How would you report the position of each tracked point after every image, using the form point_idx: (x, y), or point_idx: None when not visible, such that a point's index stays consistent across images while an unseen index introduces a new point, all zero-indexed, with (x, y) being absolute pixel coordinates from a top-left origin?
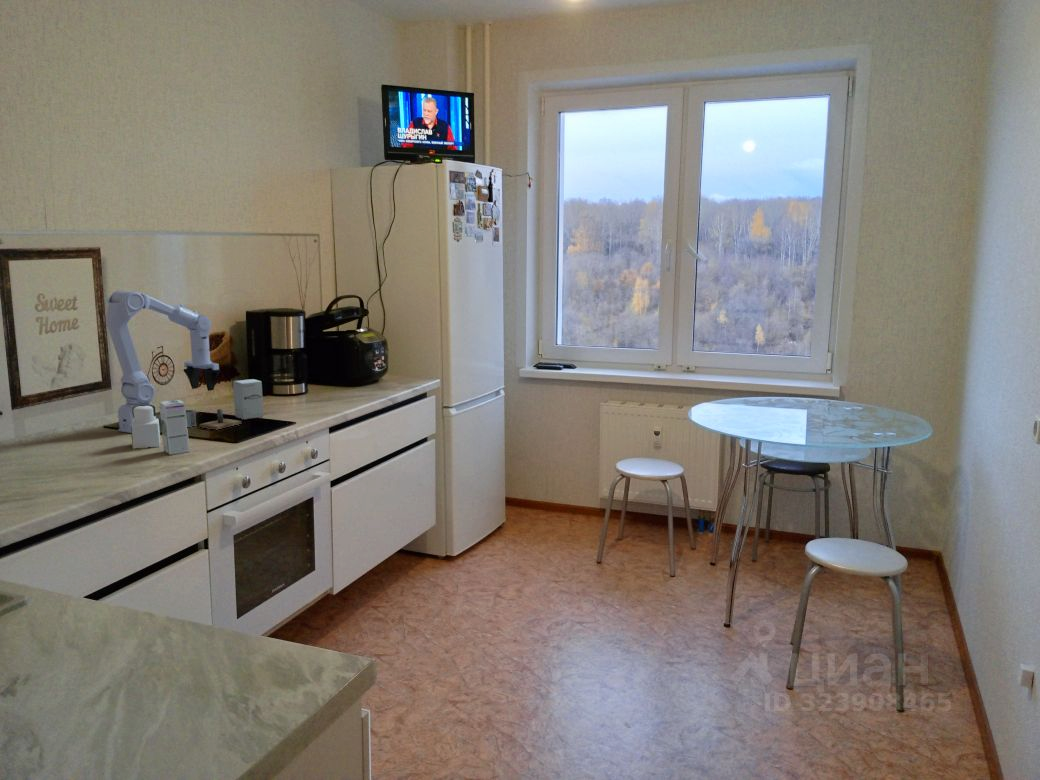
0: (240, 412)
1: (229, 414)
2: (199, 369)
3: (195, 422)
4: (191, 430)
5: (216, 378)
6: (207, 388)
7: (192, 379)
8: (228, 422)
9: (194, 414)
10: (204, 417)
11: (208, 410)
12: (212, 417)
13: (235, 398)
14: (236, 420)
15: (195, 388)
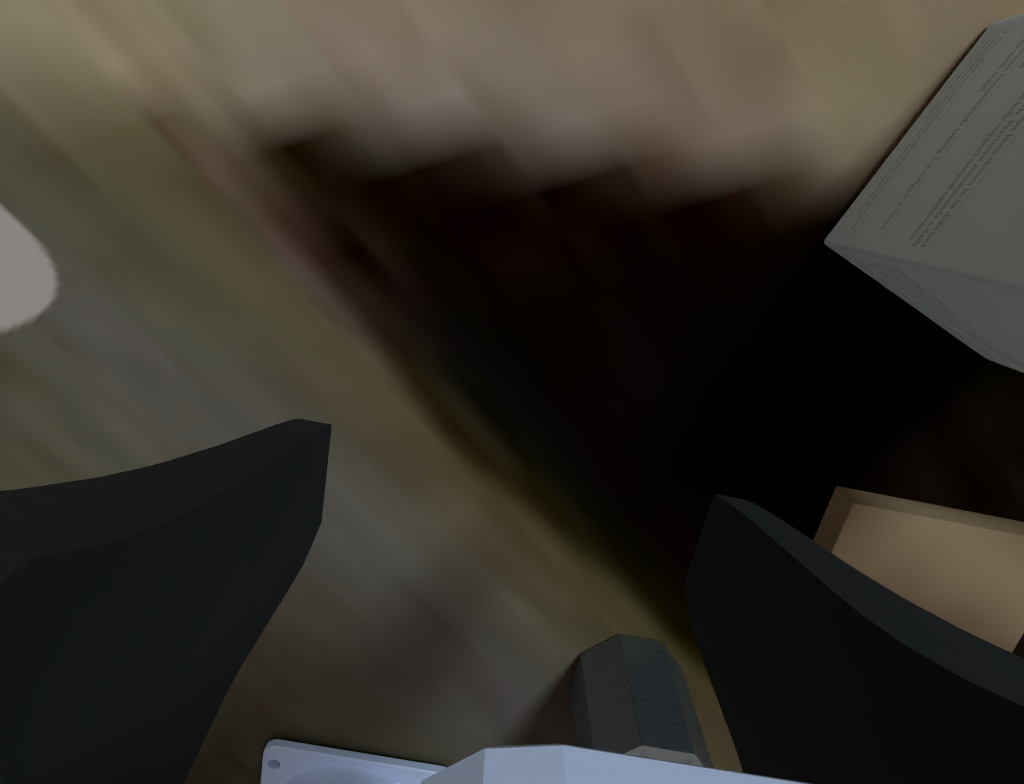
0: (991, 350)
1: (690, 150)
2: (75, 592)
3: (685, 688)
4: (729, 763)
5: (943, 625)
6: (699, 623)
7: (237, 643)
8: (977, 622)
9: (711, 763)
10: (518, 365)
11: (285, 5)
12: (598, 342)
13: (1010, 314)
14: (1019, 542)
15: (325, 482)
